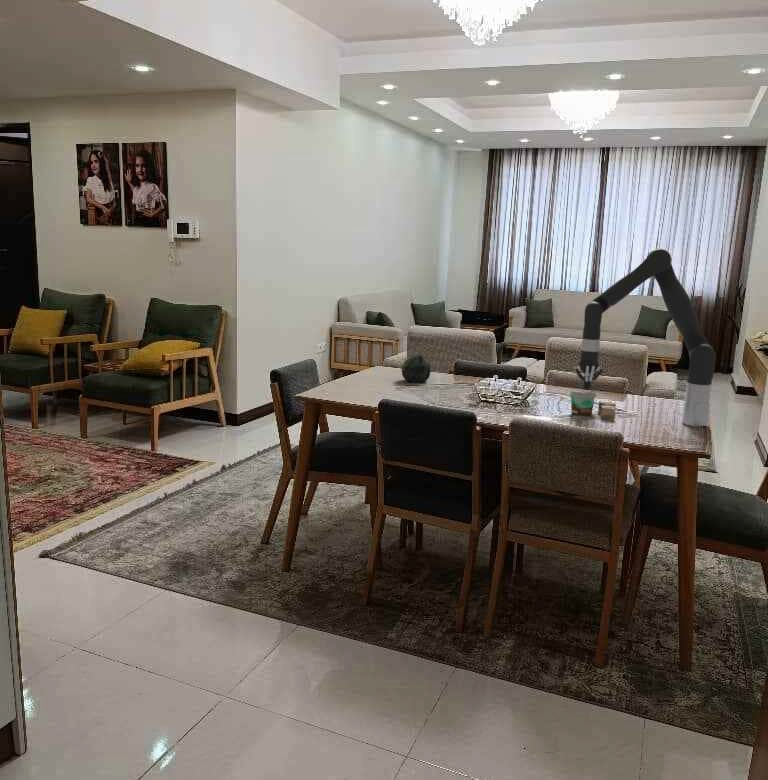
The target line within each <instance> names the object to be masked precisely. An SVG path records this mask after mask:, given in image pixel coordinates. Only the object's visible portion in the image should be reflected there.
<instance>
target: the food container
mask: <svg viewBox="0 0 768 780" xmlns="http://www.w3.org/2000/svg"><path fill="white" fill-rule="evenodd" d="M569 396H570V398H571V399H570V401H571V405H570V406H571V407H570V408H571V410H570V411H571V413H570V414H571V415H575V416H581V417H582V416H583V417H584V416H585V417H586V416H587V417H589V416H591V415H593V409H594V404H595V398H597V391H596V390H595V389H592V390H591V391H578V392H577V391H573V390H572V391H571V392H570V394H569Z"/></svg>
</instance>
